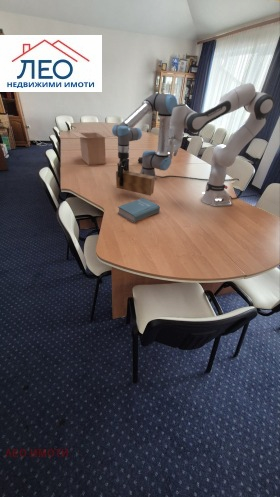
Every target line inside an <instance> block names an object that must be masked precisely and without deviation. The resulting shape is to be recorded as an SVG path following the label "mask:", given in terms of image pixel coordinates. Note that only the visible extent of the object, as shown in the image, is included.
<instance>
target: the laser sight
mask: <svg viewBox="0 0 280 497" xmlns="http://www.w3.org/2000/svg"><path fill="white" fill-rule="evenodd" d="M137 162H138V164H141V165H142V156H141V157H140V156H139V157H138V159H137Z"/></svg>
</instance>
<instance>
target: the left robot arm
mask: <svg viewBox="0 0 280 497" xmlns="http://www.w3.org/2000/svg"><path fill="white" fill-rule="evenodd" d="M176 105H179V103H178V99H177V97H176V96H175V95H174V94H171V93H159V92H156V93H153V94H151V95H150V96H148V97H146V98H145V99H144V100H143V101H142V102H141V104H140V106H138V107H137V108H136V109H135V110H134V111H133V112H131V114H129V115H128V116H127V117H126V118H125V119H124V120H123V121H122V122H121V123H119V124H114V125H113V126H112V128H111V132H112V136H113V137H117V157H118V159H119V162H117V171H118V177H119V183H120V186H123V170H125V171H130V159H129V158H130V142H134V141H138V140H140V139H141V138H143V131H142V130H141V128H139V127H135V126H137V125H138V124H139V123H140V122H141V121H142V120H143V119H144V118H145V117H147V115H150V114H152V113H154V112H157V116H158V118H159V122H158V123H159V125H158V136H157V150H153V149H151V150H145V151H143V152H142V156H141V157H142V164H141V169H140V172H139V173H140V174H145V175H150V176H155V179H156V178H161V179H163V178H168V177H170V178H171V177H172V178H183V179H190V180H199V181H208V180H209V178H200V177H199V178H197V177H191V176H190V177H187V176H181V175H165V176H161V175H157V174H156V169H157V170H158V171H167V170H168V169H169V168H170V166H171V164H172V159H169V153H168V152H167V147H168V141H169V139H170V137H169V131H170V126H171V116H172V111H173V108H174V107H175V106H176ZM235 180H236V181H240V179H239V178H232V179H231V178H230V179H225V181H226V182H228V181H235ZM225 181H224V182H225Z"/></svg>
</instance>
